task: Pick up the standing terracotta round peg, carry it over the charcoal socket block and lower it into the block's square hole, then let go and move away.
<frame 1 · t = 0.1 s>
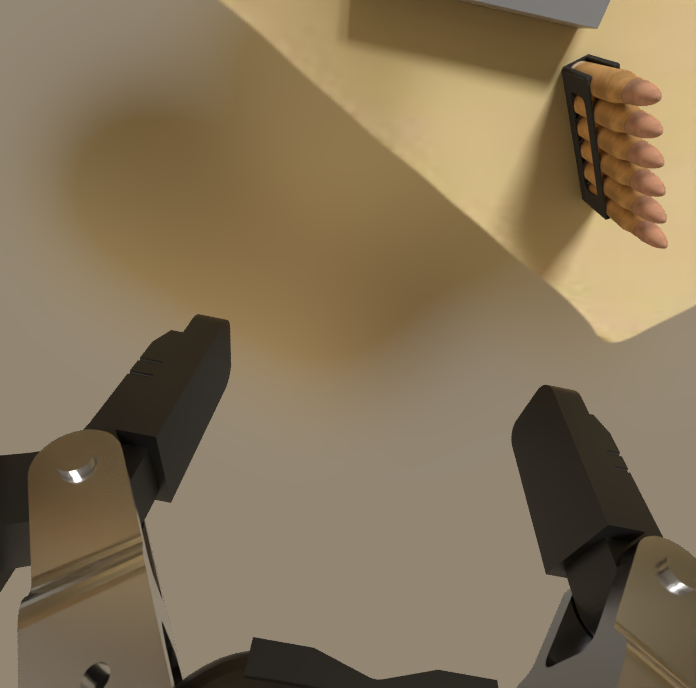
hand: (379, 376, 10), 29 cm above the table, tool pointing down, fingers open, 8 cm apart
ammunition clip: (584, 133, 32), on the table
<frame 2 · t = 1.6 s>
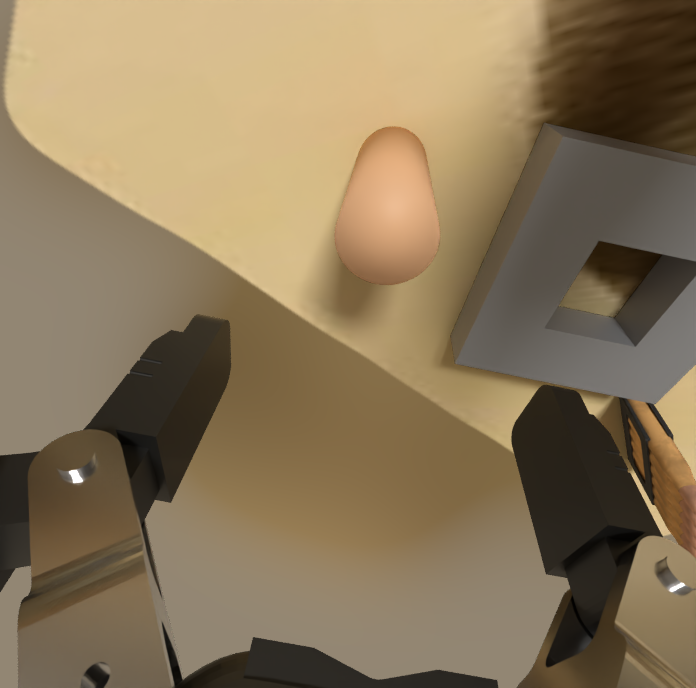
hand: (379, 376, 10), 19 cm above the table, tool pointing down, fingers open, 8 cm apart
socket block: (597, 271, 28), on the table
ammunition clip: (633, 424, 38), on the table
peg: (391, 165, 25), on the table
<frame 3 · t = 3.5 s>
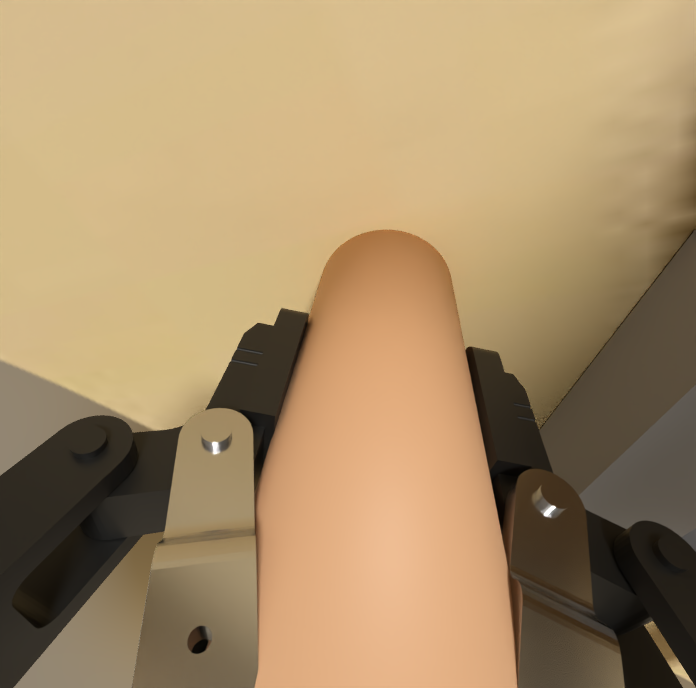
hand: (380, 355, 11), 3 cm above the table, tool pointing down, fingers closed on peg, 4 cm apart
peg: (385, 291, 13), on the table, touching gripper
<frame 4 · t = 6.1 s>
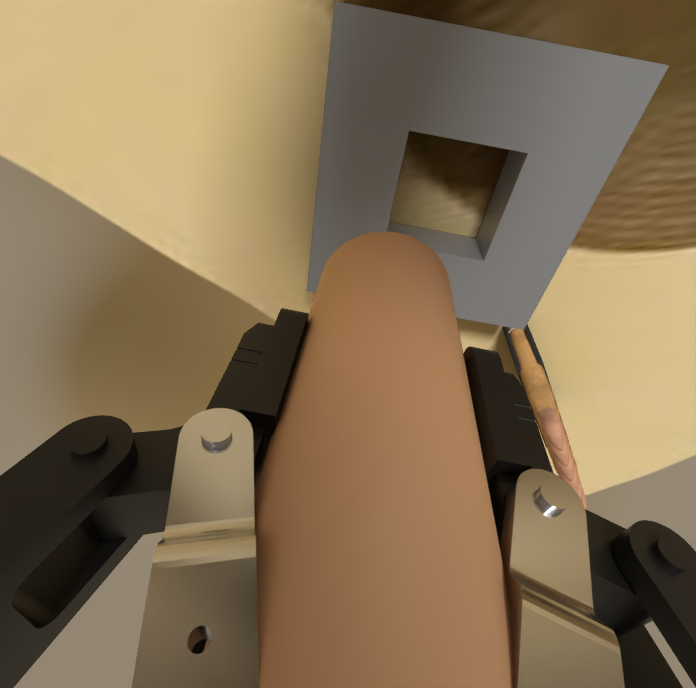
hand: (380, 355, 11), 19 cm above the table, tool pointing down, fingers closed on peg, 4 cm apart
socket block: (444, 183, 26), on the table
ammunition clip: (528, 364, 36), on the table
peg: (383, 293, 14), point 16 cm above the table, touching gripper
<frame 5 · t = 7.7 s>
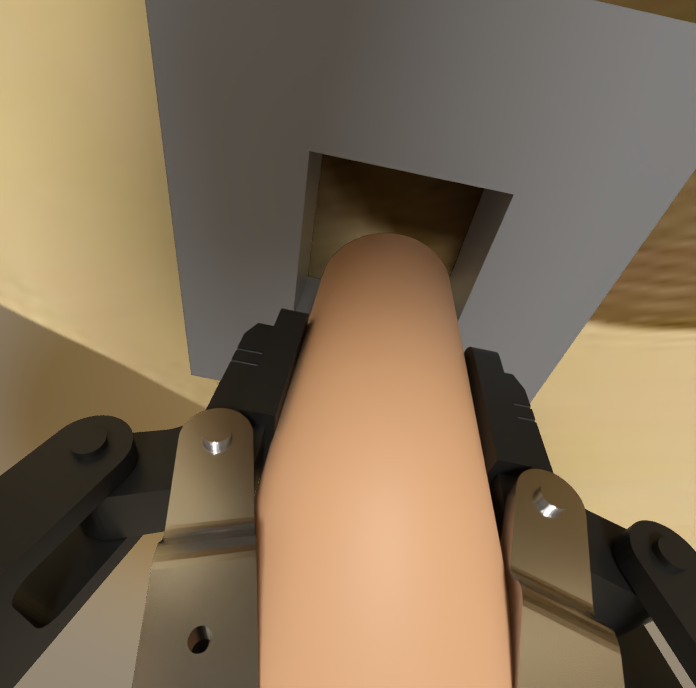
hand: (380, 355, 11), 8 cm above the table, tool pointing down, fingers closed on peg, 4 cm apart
socket block: (390, 226, 17), on the table
peg: (384, 294, 14), point 5 cm above the table, touching gripper
when the fingers open (5 cm above the table, at t = 8.9 s): peg drops 1 cm, resting in socket block.
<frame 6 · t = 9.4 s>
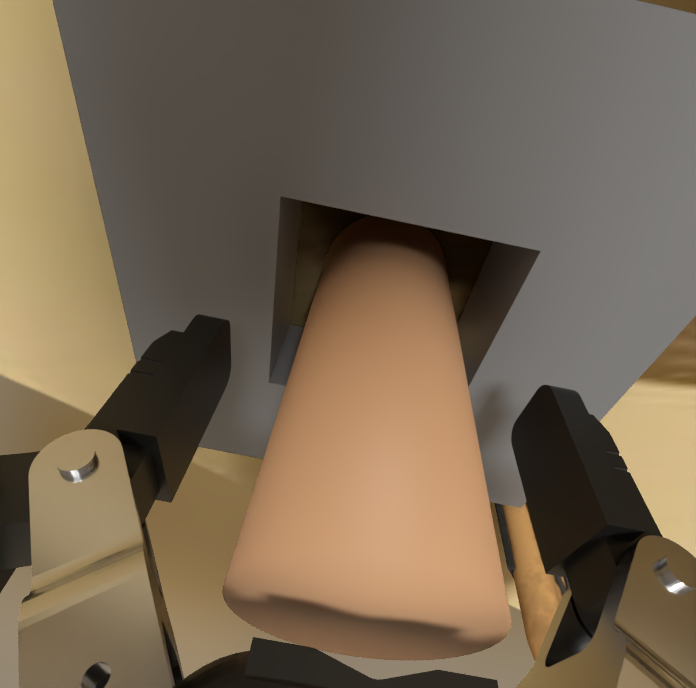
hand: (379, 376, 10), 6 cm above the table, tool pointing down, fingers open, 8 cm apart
socket block: (385, 271, 15), on the table
ammunition clip: (525, 510, 24), on the table
peg: (384, 272, 15), resting in socket block
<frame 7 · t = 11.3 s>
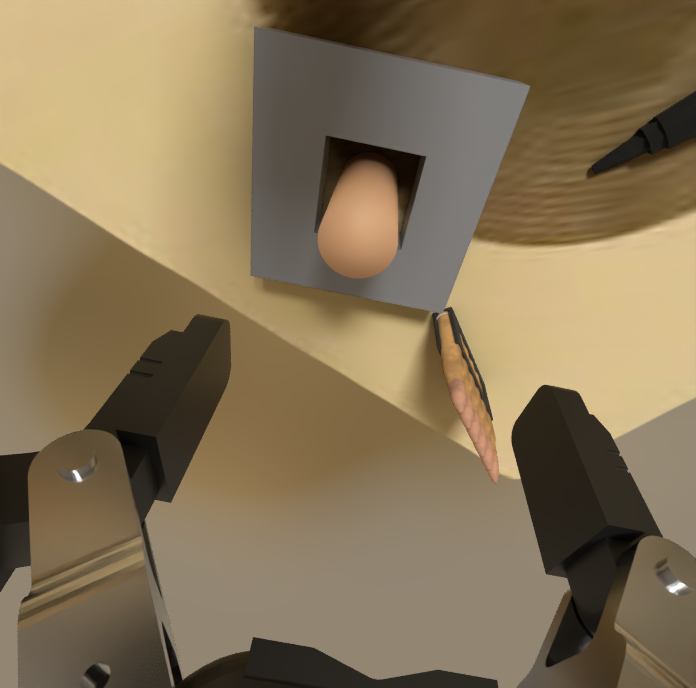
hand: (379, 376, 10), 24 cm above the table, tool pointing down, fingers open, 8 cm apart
socket block: (369, 182, 30), on the table
ammunition clip: (459, 349, 39), on the table
peg: (368, 183, 30), resting in socket block
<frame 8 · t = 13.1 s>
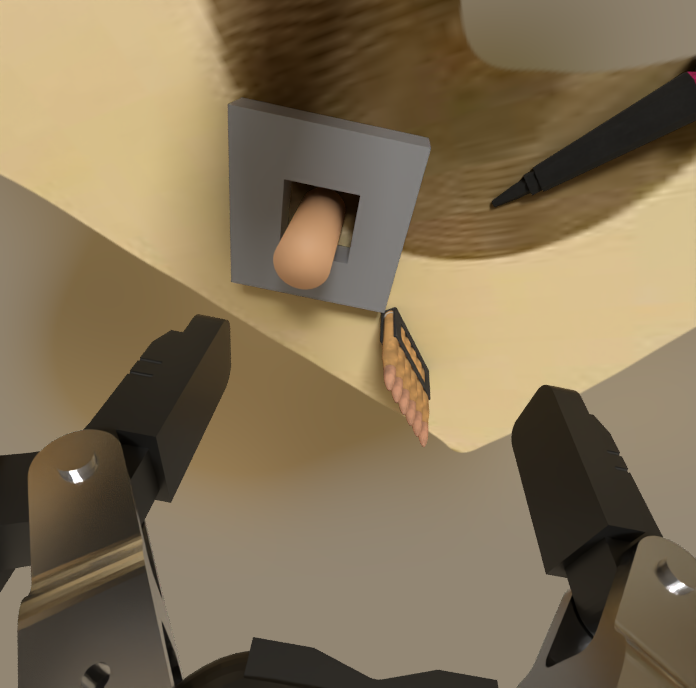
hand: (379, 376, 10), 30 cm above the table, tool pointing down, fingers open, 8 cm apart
socket block: (323, 209, 38), on the table
ammunition clip: (406, 341, 48), on the table
microphone: (609, 120, 32), on the table
peg: (323, 210, 39), resting in socket block
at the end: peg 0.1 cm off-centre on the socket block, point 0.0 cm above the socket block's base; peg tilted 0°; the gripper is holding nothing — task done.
